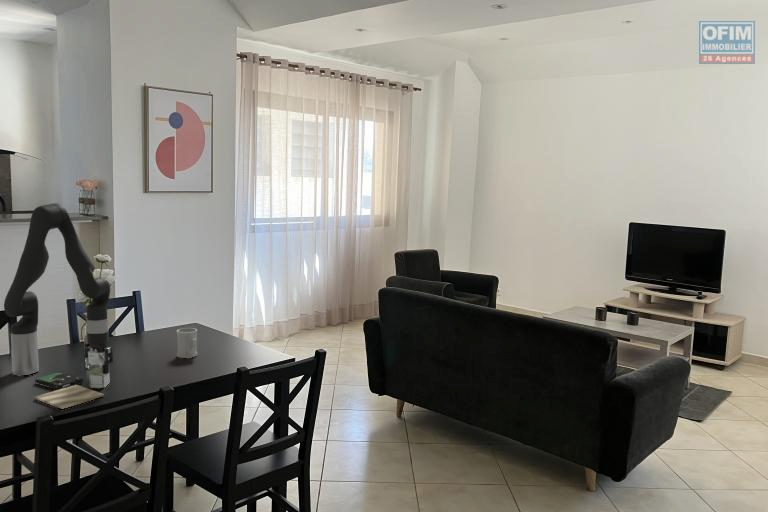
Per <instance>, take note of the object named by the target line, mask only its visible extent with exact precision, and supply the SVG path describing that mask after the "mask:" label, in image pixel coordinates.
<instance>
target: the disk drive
mask: <svg viewBox="0 0 768 512" xmlns="http://www.w3.org/2000/svg"><path fill="white" fill-rule="evenodd" d="M34 380H35V383H36V382H37V383H39V384H43V385H46V386H49V387H52V388H55V389H59V390H60V389H63V388H66V387H69V386H73V385H76V384H79V383H83V384H84V377H80V376H77V375H73V374H69V373H66V372H62V371H57V372H54V373H49V374H47V375H43V376H41V377H36V379H34ZM55 389H54V390H55Z"/></svg>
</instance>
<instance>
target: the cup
mask: <svg viewBox="0 0 768 512" xmlns="http://www.w3.org/2000/svg"><path fill="white" fill-rule="evenodd" d="M176 336H177V337H176V338H177V352H176V357H178V358H179V359H183V358H187V359H193V358H195V356H196V357H197V356H198V351H197V348H198V339H197V336H198V329H197V328H196V327H195V328H194V327H185V328H184V327H183V328H179V329H177V330H176ZM192 357H193V358H192Z"/></svg>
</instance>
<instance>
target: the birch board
mask: <svg viewBox="0 0 768 512" xmlns="http://www.w3.org/2000/svg"><path fill="white" fill-rule="evenodd" d="M102 396H104V397H105V394H104V393H103V392H99V391H96V390H95V389H94V390H93V389H92V388H87V387H84V386H83V385H74V386H70V387H67V388H63V389H60V390H53V391H49V392H47V393H42V394H39V395H35V396H34V400H35V399H38V400H40V401H42V402H45V403H47V404H50V405H53V406H55V407H58V408H61V409H64V408H68V407H71V406H74V405H77V404H81V403H84V402H87V401H90V402H92V401H91V400H93V401H95V400H94V399H96V398H99V397H102ZM87 403H88V402H87ZM47 404H46V405H47ZM84 404H85V403H84ZM81 405H82V404H81ZM68 409H69V408H68Z"/></svg>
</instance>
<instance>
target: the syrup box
mask: <svg viewBox="0 0 768 512" xmlns="http://www.w3.org/2000/svg"><path fill="white" fill-rule="evenodd" d="M99 354H100V355H101V356H102V357H104V356H105V353H104V352H103V353H99ZM108 358H109V359H110V357H108ZM88 359H89V360H88ZM88 359H87V360H88V376H89V377H88V382H89V385H88V386H89V389H100V388H104V387H106V386H107V385H108V384H109V383H111V382H110V379H111V377H110V372H109V373H107V374H103V369H102V365H103V364H102V361H101V360H99V358H98V353H96V352H95V350H94V351H89V352H88ZM104 361H105V359H104ZM109 385H110V384H109ZM109 385H108V386H109ZM108 386H107V387H108ZM107 387H106V388H107ZM104 389H105V388H104Z"/></svg>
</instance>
